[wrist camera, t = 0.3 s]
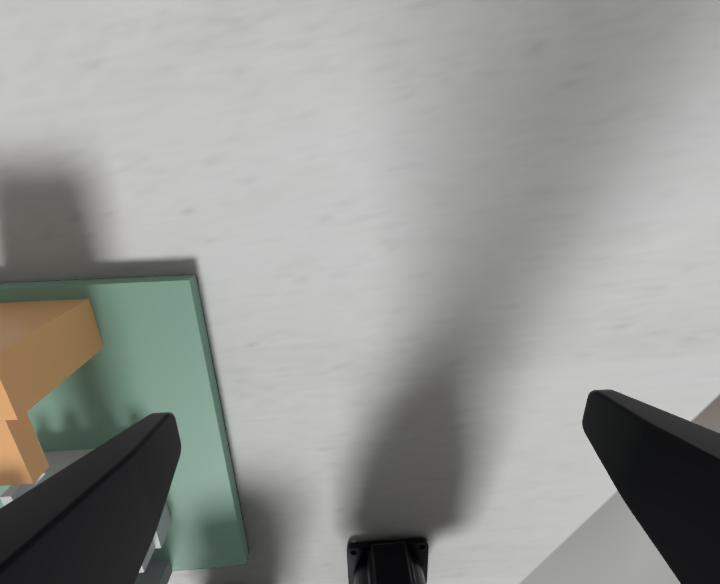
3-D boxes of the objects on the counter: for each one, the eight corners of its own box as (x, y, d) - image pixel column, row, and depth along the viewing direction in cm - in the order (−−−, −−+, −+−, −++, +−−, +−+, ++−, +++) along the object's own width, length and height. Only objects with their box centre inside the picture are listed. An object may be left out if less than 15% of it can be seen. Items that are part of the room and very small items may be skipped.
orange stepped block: (119, 398, 23) (45, 482, 17) (33, 403, 22) (-73, 491, 16) (89, 298, 20) (-10, 356, 14) (-7, 303, 20) (-147, 364, 14)
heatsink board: (248, 551, 29) (226, 656, 23) (37, 569, 28) (-44, 682, 22) (195, 274, 21) (139, 323, 15) (-102, 287, 20) (-288, 344, 14)
